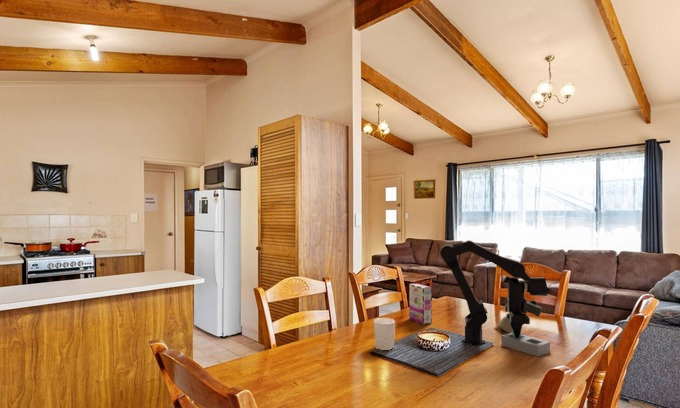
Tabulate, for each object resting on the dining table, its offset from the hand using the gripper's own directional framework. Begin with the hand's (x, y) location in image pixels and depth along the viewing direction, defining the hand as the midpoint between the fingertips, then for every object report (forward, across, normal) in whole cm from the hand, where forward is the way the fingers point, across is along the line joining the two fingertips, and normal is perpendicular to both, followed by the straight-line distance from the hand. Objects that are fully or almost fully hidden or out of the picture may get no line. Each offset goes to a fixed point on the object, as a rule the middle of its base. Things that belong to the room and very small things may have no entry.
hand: (516, 336), depth 145 cm
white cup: (+4, -15, +47) cm, 50 cm away
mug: (+4, +19, +1) cm, 19 cm away
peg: (+4, 0, 0) cm, 4 cm away
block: (+4, -2, -2) cm, 5 cm away
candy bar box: (+4, +24, +37) cm, 44 cm away
